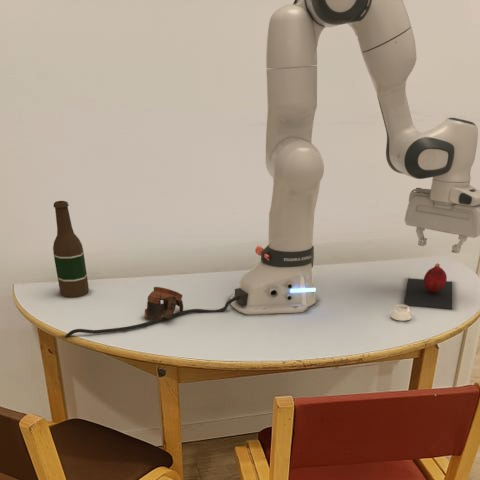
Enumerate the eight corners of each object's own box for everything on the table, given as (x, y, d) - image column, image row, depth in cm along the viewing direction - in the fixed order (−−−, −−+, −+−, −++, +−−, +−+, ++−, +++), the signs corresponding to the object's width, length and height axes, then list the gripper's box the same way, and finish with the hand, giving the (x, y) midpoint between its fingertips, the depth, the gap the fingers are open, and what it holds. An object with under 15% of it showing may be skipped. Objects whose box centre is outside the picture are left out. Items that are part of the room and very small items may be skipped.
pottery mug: (136, 316, 150) (145, 284, 150) (170, 326, 155) (178, 295, 155) (154, 319, 140) (163, 285, 140) (189, 330, 145) (198, 297, 145)
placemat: (452, 309, 151) (452, 308, 151) (403, 305, 154) (403, 304, 154) (451, 282, 169) (452, 281, 169) (408, 279, 172) (408, 278, 172)
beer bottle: (54, 295, 163) (38, 203, 150) (71, 287, 169) (57, 197, 156) (78, 299, 160) (63, 205, 148) (95, 290, 166) (82, 199, 154)
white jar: (391, 313, 149) (389, 320, 145) (393, 302, 148) (390, 309, 144) (412, 315, 148) (410, 323, 144) (414, 304, 146) (411, 311, 142)
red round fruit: (446, 297, 158) (451, 267, 154) (424, 297, 158) (429, 267, 154) (440, 289, 163) (445, 260, 159) (419, 289, 163) (423, 260, 159)
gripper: (404, 188, 151) (396, 243, 158) (482, 199, 139) (470, 259, 147) (417, 185, 155) (408, 239, 162) (494, 196, 143) (481, 254, 151)
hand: (438, 248), depth 154 cm, fingers open, 8 cm apart
